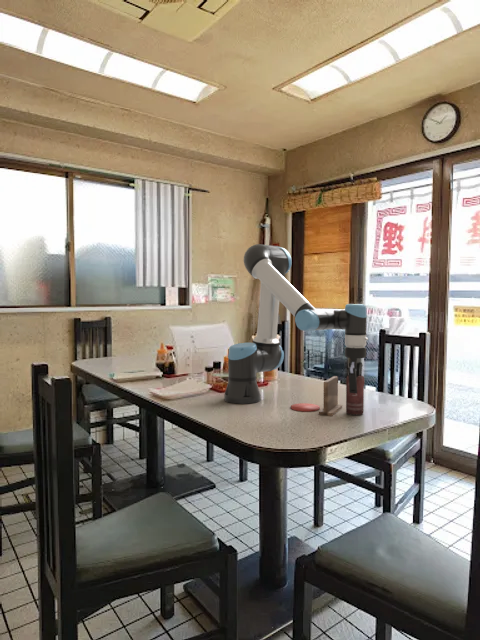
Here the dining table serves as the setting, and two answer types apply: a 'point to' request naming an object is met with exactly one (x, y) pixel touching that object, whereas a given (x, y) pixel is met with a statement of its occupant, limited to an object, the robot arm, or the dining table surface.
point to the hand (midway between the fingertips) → (355, 411)
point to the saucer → (305, 407)
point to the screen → (330, 397)
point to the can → (355, 397)
